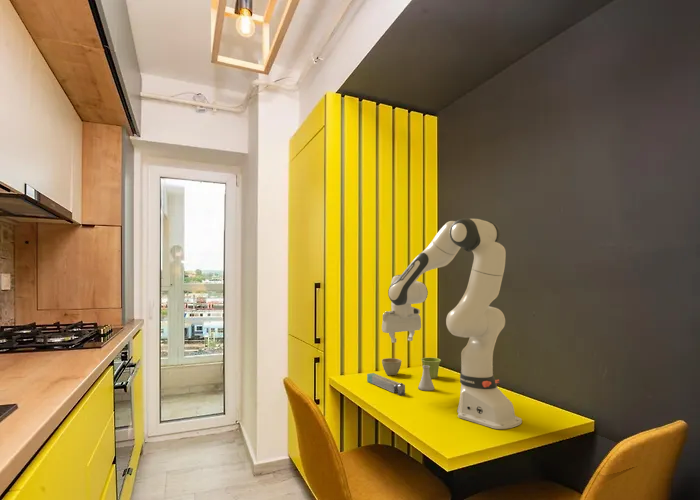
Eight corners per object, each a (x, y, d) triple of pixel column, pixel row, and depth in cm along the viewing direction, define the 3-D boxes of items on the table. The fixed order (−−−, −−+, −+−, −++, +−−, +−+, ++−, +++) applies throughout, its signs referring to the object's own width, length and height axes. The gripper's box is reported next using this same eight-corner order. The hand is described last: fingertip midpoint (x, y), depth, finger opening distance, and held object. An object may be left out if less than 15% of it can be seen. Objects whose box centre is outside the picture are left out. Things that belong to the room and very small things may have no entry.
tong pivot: (406, 394, 165) (406, 383, 165) (400, 396, 163) (400, 384, 163) (401, 393, 167) (401, 382, 168) (395, 394, 166) (395, 383, 166)
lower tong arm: (401, 391, 168) (401, 383, 169) (397, 392, 167) (397, 384, 168) (373, 380, 186) (373, 373, 186) (370, 380, 185) (370, 373, 185)
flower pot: (377, 374, 199) (377, 360, 199) (390, 371, 206) (390, 357, 206) (392, 378, 192) (392, 363, 192) (405, 374, 198) (405, 360, 199)
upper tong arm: (397, 392, 167) (397, 384, 167) (393, 393, 166) (393, 384, 167) (370, 380, 185) (370, 373, 185) (367, 381, 184) (367, 373, 185)
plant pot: (440, 380, 188) (440, 362, 189) (420, 378, 191) (420, 360, 191) (441, 375, 197) (441, 358, 198) (422, 374, 200) (422, 356, 200)
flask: (433, 386, 177) (433, 364, 178) (435, 391, 170) (435, 368, 170) (417, 386, 178) (417, 364, 178) (418, 391, 170) (418, 367, 171)
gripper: (387, 311, 168) (388, 344, 167) (422, 309, 179) (423, 340, 178) (378, 311, 174) (379, 342, 172) (413, 309, 184) (414, 339, 183)
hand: (402, 341), depth 175 cm, fingers open, 8 cm apart
